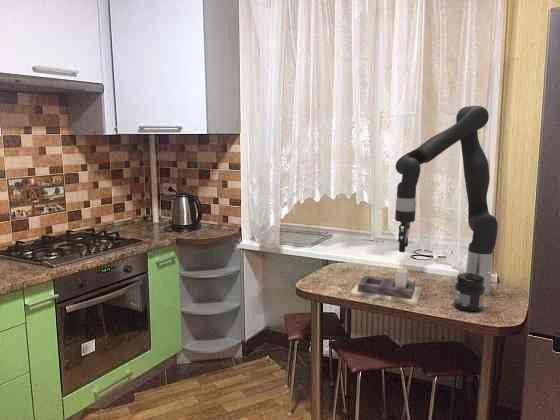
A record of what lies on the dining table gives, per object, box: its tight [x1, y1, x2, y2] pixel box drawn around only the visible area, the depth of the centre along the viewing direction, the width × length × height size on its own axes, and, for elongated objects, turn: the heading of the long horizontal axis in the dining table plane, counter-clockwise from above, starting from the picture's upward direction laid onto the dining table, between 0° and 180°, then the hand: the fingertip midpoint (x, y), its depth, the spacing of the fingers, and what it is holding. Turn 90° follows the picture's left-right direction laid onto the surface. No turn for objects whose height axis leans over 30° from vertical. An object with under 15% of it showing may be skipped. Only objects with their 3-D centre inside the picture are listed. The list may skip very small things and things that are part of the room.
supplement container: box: [453, 272, 485, 312], centre depth 180 cm, size 10×10×12 cm
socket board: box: [349, 275, 423, 306], centre depth 195 cm, size 26×18×4 cm
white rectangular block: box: [394, 268, 408, 288], centre depth 192 cm, size 4×4×9 cm
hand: (403, 249), depth 190 cm, fingers open, 8 cm apart
